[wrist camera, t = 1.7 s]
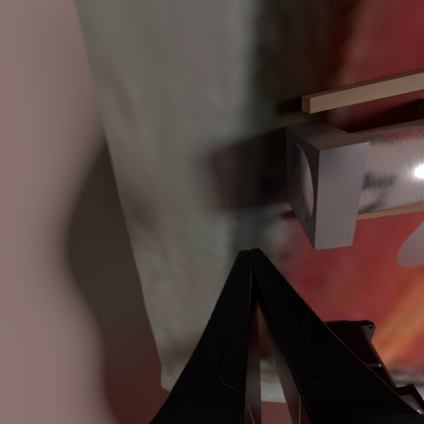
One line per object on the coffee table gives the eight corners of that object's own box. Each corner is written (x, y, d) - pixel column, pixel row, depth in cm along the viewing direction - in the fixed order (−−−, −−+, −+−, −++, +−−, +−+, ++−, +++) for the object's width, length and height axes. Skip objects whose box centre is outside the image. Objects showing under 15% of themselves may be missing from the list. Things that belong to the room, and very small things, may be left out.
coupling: (457, 90, 13) (608, 96, 8) (427, 179, 16) (522, 224, 11) (285, 126, 14) (319, 150, 9) (287, 201, 17) (314, 250, 12)
